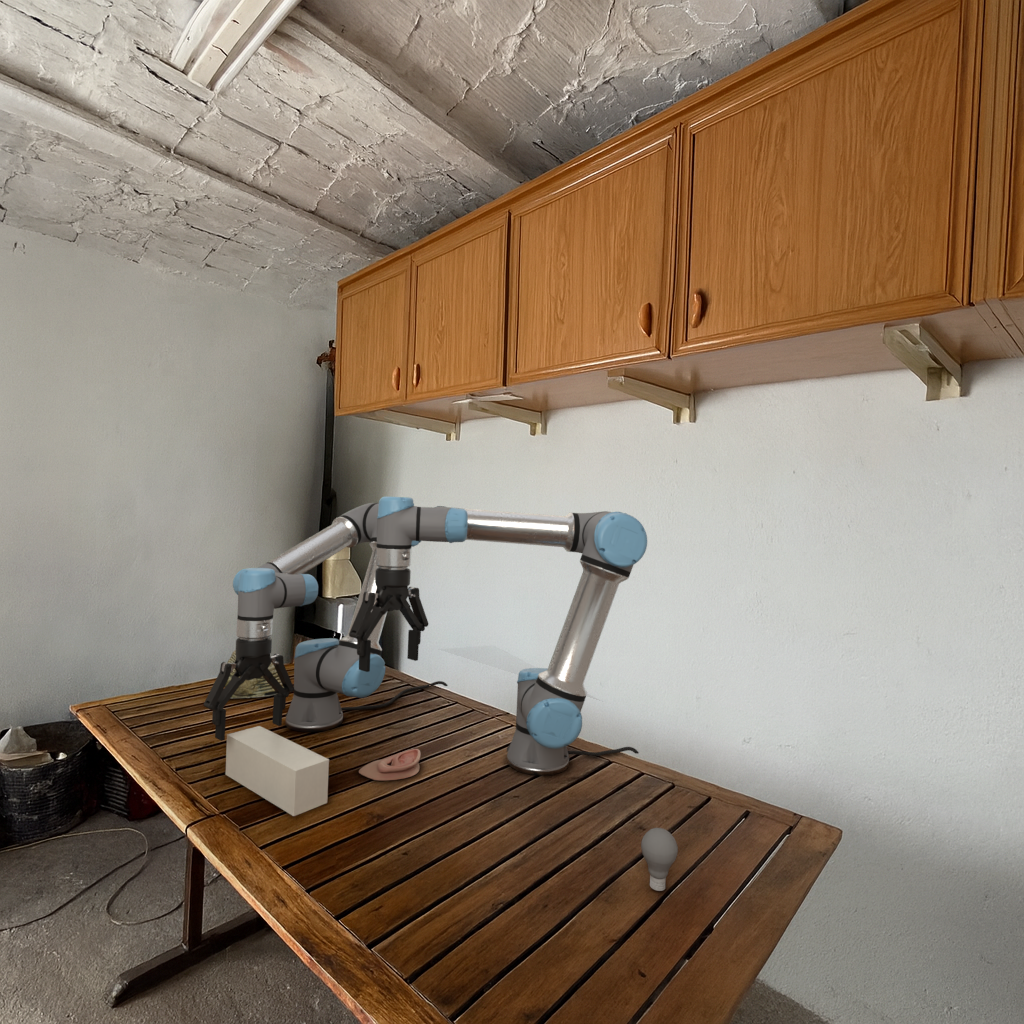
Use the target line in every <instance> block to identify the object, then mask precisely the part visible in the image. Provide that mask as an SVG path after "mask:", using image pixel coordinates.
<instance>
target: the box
mask: <svg viewBox="0 0 1024 1024" xmlns="http://www.w3.org/2000/svg"><path fill="white" fill-rule="evenodd" d="M225 748H226V750H225V751H226V752H225V753H226V754H225V776H227V777H228V778H230V779H232V780H233V781H235V782H237V783H238V784H240V785H241V786H243V787H245V788H246V789H248V790H250V791H252V792H253V793H255V794H256V795H258V796H259V797H261V798H262V799H265V800H266V801H268V802H269V803H271V804H273V805H274V806H276V807H277V808H279V809H281V810H283V812H286V813H287V814H289V815H290V816H292V817H296V816H298V815H301V814H304V813H306V812H308V811H311V810H313V809H316V808H318V807H321V806H323V805H326V804H328V797H329V768H330V759H329V758H327V757H325V756H323V755H321V754H319V753H317V752H315V751H313V750H310V749H309V748H306V747H305V746H303V745H300V744H298V743H297V742H294V741H292V740H290V739H288V738H286V737H284V736H282V735H279V734H277V733H276V732H273V731H271V730H269V729H267V728H265V727H264V726H261V725H257V726H254V727H250V728H246V729H242V730H239V731H235V732H232V733H228V734H226V747H225Z"/></svg>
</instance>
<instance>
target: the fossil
mask: <svg viewBox="0 0 1024 1024" xmlns="http://www.w3.org/2000/svg"><path fill="white" fill-rule="evenodd" d="M235 651H236V649H235V650H233V651H232V653H231V656H230V657H229V659H228V660H227V662H226V663H234V662H235V660H236V654H235ZM268 669H269V671H270V672H271V673H272V674H273V676H274V677H275V679H276V680H277V681H278V682H279V683H280V684H281V686H282V687H283V685H282V683H281V681H280V678H279V676H278V674H277V671H276V669H275V667H274V664H272V662H271V664H270V666H269V667H268ZM235 672H236V670H235V669H233V672H231V673H230V677H229V679H228V681H227V683H226V685H225V687H226V686H227V684H228V683H229V682H230V680H231V677H232V676H233V675H234V673H235ZM239 678H240V676H239ZM225 687H224V688H225ZM283 688H284V687H283ZM274 695H278V694H277V692H276V691H275V690H274V689H273V688H272V687H271V686H270V684H269V683H268V682H267V681H266V680H265V679H264V677H263V676H262V677H261V678H259V679H256V678H254V679H252V680H245V681H244V683H242V684H241V685H240V686H239V687H238V689H237V690H236V691H235V693H234V694H233V695H232V697H231V698H230V699H250V698H264V697H271V696H274Z"/></svg>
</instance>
